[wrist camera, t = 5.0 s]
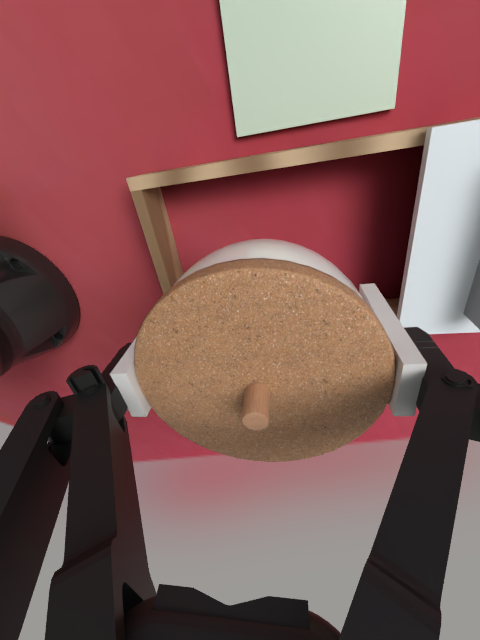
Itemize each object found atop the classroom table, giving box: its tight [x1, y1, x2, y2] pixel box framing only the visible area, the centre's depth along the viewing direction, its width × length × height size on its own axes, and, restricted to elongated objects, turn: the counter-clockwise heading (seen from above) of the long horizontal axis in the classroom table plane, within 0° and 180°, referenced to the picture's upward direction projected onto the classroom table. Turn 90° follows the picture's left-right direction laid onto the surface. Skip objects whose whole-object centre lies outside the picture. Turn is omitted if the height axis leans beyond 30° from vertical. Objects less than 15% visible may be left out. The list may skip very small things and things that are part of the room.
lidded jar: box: [134, 239, 396, 462], centre depth 14 cm, size 11×11×9 cm
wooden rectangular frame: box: [126, 117, 480, 317], centre depth 26 cm, size 34×16×4 cm, turn 99°
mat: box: [219, 0, 406, 137], centre depth 19 cm, size 12×12×1 cm
